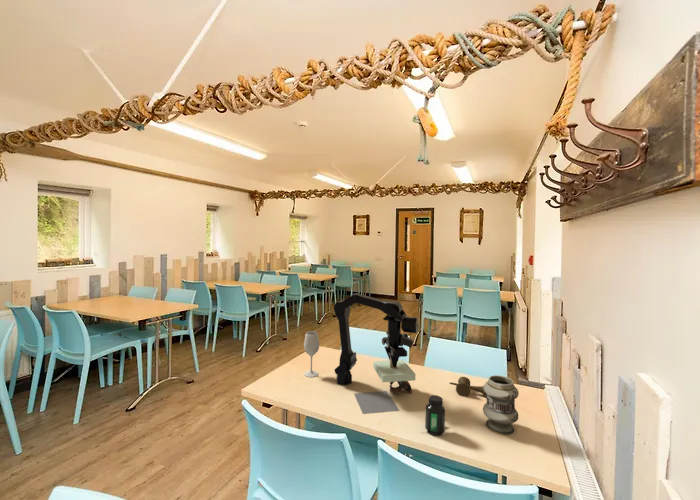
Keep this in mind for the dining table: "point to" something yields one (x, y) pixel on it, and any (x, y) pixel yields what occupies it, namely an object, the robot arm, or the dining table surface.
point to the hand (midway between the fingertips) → (393, 365)
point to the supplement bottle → (435, 416)
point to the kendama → (467, 387)
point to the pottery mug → (400, 387)
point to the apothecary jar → (500, 404)
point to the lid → (393, 371)
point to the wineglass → (311, 349)
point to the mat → (375, 402)
